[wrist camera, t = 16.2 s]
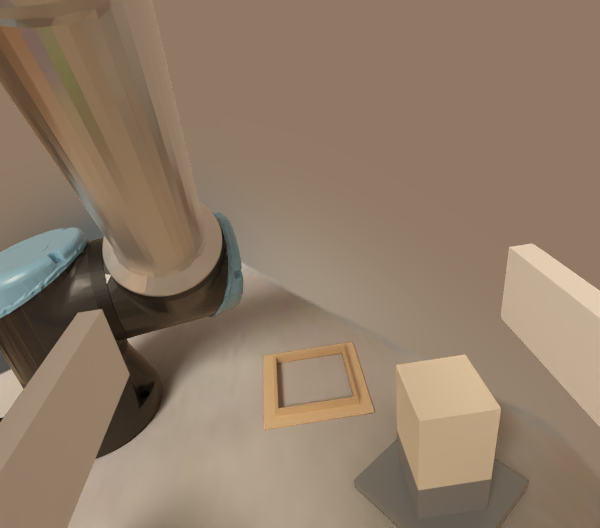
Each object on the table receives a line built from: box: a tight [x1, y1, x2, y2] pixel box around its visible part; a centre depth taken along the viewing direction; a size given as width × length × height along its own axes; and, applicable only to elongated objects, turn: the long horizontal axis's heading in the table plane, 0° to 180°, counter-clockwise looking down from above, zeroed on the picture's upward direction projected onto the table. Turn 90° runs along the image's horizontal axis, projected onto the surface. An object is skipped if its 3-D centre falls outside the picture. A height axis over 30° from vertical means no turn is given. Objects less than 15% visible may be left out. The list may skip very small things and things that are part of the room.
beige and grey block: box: [396, 355, 501, 519], centre depth 35 cm, size 6×6×12 cm
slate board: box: [354, 440, 529, 528], centre depth 38 cm, size 11×11×1 cm
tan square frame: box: [263, 342, 375, 430], centre depth 52 cm, size 13×13×1 cm
